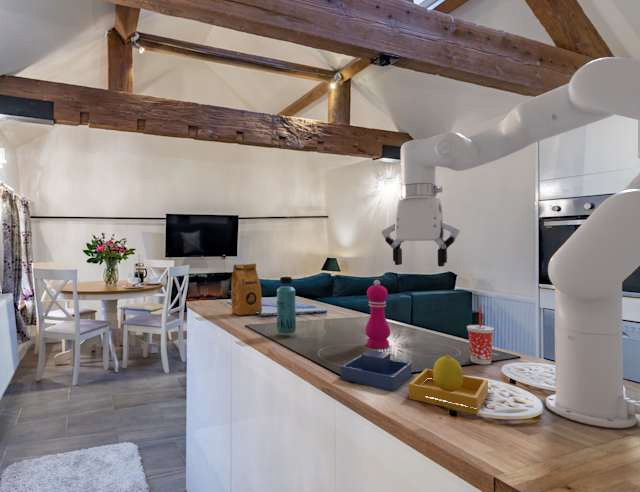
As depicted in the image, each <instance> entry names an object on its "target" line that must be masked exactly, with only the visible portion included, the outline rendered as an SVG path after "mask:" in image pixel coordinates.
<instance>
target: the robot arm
mask: <svg viewBox="0 0 640 492" xmlns="http://www.w3.org/2000/svg"><path fill="white" fill-rule="evenodd" d="M615 115H616V116H619V117H624V118H628V119H632V120H636V121H640V59H635V58H626V57H620V56H619V57H618V56H616V57H615V56H614V57H613V56H610V57H601V58H597V59H594V60H591V61H590V62H587V63H586V64H584V65H582V66H581V67H580V68H578V70H576V71H575V73H574V74H573V75H572V77H571V78H570V80H569V82H568V83H566V84H564V85H560V86H558V87H556V88H553V89H551V90H549V91H547V92H544V93H542V94H539V95H537V96H534V97H531V98H529V99H526V100H524V101H521V102H520V103H518V104H517V105H515V106H514V107H513V108H512V109H511V110H510V112H509V113H508V114H507V115H506V116H505V117H504V118H503V119H502V120H501V121H499V122H498V123H497V124H495V125H493V126H491V127H489V128H487V129H484V130H483V131H480V132H477V133H475V134H472V135H469V136H464V135H462V134H461V133H458V132H455V131H447V132H443V133H439V134H437V135H434V136H430V137H427V138H421V139H412V140H411V139H410V140H408V141H405V142H403V143H402V145H401V147H400V194H401V195H400V199H398V202H397V204H396V205H397V206H396V212H395V220H394V221H395V223H394V224H392V225H390V226H388V227H386V228H385V229H382V230H381V234H382V236H383V238H384V240H385V242H386V243H387V244H388V245H389V246H390V248H391V249H392V261H393V262H394V265H395V266H400V265H402V264H403V249H402V248H401V246H402V245H403V244H404V242H411V241H412V242H417V241H418V242H420V241H422V242H424V241H428V242H429V241H434V242H435V243H436V245H438V249H437V266H438V267H441V268H442V267H445V264H447V262H448V248H449V247H450V246H451V245H453V244H454V243H455V242H456V239H457V237H458V236H459V234H460V232H461V229H460V228H458V227H455V226H453V225H451V224H448V223H446V222H444V215H443V214H444V212H443V207H442V206H443V205H442V202H441V198H440V197H437V196H438V194H439V193H443V191H444V189H443V186H439V185H437V183H436V167H440V168H445V169H449V170H452V171H455V172H460V171H467V170H471V169H474V168H477V167H480V166H483V165H486V164H489V163H492V162H495V161H498V160H501V159H503V158H505V157H507V156H509V155H512V154H514V153H516V152H518V151H521V150H523V149H525V148H527V147H529V146H531V145H533V144H535V143H538V142H541V141H544V140H546V139H547V140H548V139H551V138H553V137H555V136H559V135H561V134H565V133H568V132H570V131H572V130H576V129H579V128H582V127H584V126H587V125H590V124H591V125H592V123H596V122H599V121H602V120H605V119H608V118H609V117H612V116H615ZM445 230H446V231H448V232H449V233H450V235H449V237H447V239H444V238H445ZM393 232H394V234H395V235H394V236H395V239H393V238H392V236H391V233H393ZM639 267H640V171H639V172H638V173H637V175H636V176H635V177H634V178H632V180H631V181H630V182H629V183H628V184H627V185H626V186H625V187H624V188H623V189H622V190H621V191H619V192H616V193H614V194H612V195H611V196H609V197H607V198H606V199H604V201H603V202H601V203H600V204H599V205H598V206H597V207H596V208H595V209H594V211H593V212H592V213H590V215H589V216H588V217H587V218H586V219H585V220H584V222H582V223H581V225H580V226H578V228H577V229H576V230H575V231H574V232H573V233H572V234H571V235H570V236H569V237H568V239H567V240H566V241H565V242H564V243H563V244H562V245H561V246H560V247H559V248H558V249H557V251H555V253H554V254H553V255H552V256H551V258H550V260H549V262H548V266H547V275H548V278H549V281H550V282H551V284H552V286H553V287H554V365H555V366H554V367H555V368H554V373H555V374H554V375H555V377H554V378H555V393H554V394H550V395H549V396H547V397H546V398H545V406H546V407H547V408H548V409H549V410H550V411H552V412H553V413H555V414H557V415H558V416H561V417H563V418H566V419H567V420H570V421H575V422H579V423H582V424H585V425H589V426H594V427H601V428H608V429H609V428H610V429H611V428H612V429H627V428H630V427H634V426H635V425H636V423H637V417H636V415H640V400H634V399H631V397H627V394H626V391H625V390H624V361H623V359H624V358H623V356H624V355H623V354H624V351H623V350H624V349H623V332H624V331H623V282H624V281H625V280H626V279H627V278H628V277H629V276H630V275H632V273H633V272H635V271H636V270H637V269H638V268H639Z"/></svg>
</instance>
